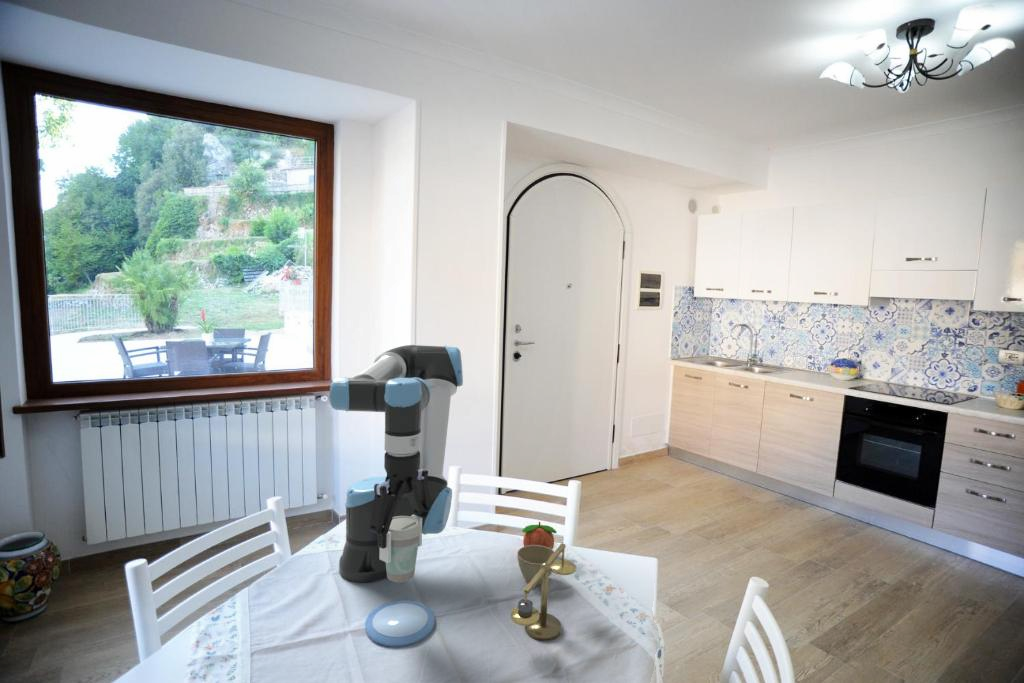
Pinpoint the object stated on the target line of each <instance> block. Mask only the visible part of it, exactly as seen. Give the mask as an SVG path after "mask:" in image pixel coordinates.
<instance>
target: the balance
mask: <svg viewBox="0 0 1024 683" xmlns="http://www.w3.org/2000/svg"><path fill="white" fill-rule="evenodd" d="M566 547H567V546H566V544H565V543H564V542H562V543H560V544H559V545H558V547H557V548H556V549H555V550H554V553H553V554H552V555H551V557H550V558H549V559H548V560H547V562H545V563H543V564H542V565H541V569H540V570H539V571H538V573H537V574H536V575H535V576H534V578H533V579H532V580H531V581H530V583H528V584H527V585H526V586H525V588H524V589H523V593H524V599H520V600H519V601H518V602H517V603H518V605H517V606H515V607H513V608H512V610H511V611H510V619H511V621H512V622H514V623H515V624H516V625H519V626H524V631H525V633H526V634H527V635H528V636H529V637H530V638H532V639H534V640H537V641H540V642H547V641H548V642H549V641H553V640H556V639H557V638H559V636H560V635H561V633H562V623H561V621H560V620H559V619H558V617H556V616H555V615H552V614H549V613H548V596H549V594H548V593H549V577H550V576H549V570H551V571H552V572H551V573H554V574H557V575H560V576H568V575H569V576H570V575H572V574H574V573H575V572H576V567H577V566H576V564H575V563H574V562H573V561H571V560H569V559H565V550H566ZM560 555H561V558H559V557H560ZM541 578H542V585H541V590H540V591H541V592H540V593H541V595H540V612H539V610H537V608H535V607H533V606H534V603H533V601H532V600H530V599H528V595H529V594H530V593H531V592H532V590H533V589H534V588H535V587H536V586H537V585H536V584H537V583H538V581H539V580H540V579H541Z"/></svg>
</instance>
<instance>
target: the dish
mask: <svg viewBox="0 0 1024 683" xmlns="http://www.w3.org/2000/svg"><path fill="white" fill-rule="evenodd" d="M365 619H366V620H365V623H364V624H365V625H364V627H365V628H364V630H365V634H366V636H367V638H369V639H370V640H371V642H374V643H376V644H377V645H380V646H384V647H392V648H394V647H395V648H396V647H397V648H398V647H406V646H409V645H413V644H417V643H419V642H420V641H422V640H424V639H425V638H427V637H428V636H429V635H430V634H431V633H432V632H433V629H434V626H435V615H434V612H433V611H432V608H430V607H429V606H427V605H426V604H424V603H423V602H422V603H421V602H418V601H415V600H395V601H390V602H387V603H384V604H382V605H380V606H378V607H375V609H373V610H372V611H370V613H369V614H368V616H367V617H366V618H365Z"/></svg>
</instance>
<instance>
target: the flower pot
mask: <svg viewBox="0 0 1024 683" xmlns="http://www.w3.org/2000/svg"><path fill="white" fill-rule="evenodd" d="M554 552H555V550H554V549H553V550H552V549H550V548H548V547H545V546H540V545H529V546H525V547H524V546H522V547H521V548H519V549H518V550H517V555H516V556H517V562H518V567H519V570H520V572H521V575H522V576H523V578H524V580H525V582H526V583H528V584H529V583H530V581H531V580H532V579H533V578H534V576H535V575H536V574H537V573H538V571H539V570H540V569H541V565H542V564H543V563H545V562H547V560H548V559H549V558H550V557H551V555H552V554H553V553H554ZM552 573H553V572H552V571H551V570H549V577H550V575H551V574H552ZM535 586H542V578H541V579H540V580H539V581H538V583H537V584H536V585H535Z"/></svg>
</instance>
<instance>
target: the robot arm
mask: <svg viewBox="0 0 1024 683" xmlns="http://www.w3.org/2000/svg"><path fill="white" fill-rule="evenodd" d="M462 362H463V361H462V353H461V350H460V349H459V348H458V347H454V346H447V345H444V346H441V345H440V346H438V345H420V344H418V345H415V344H409V345H407V344H406V345H401V346H398V347H393V348H391V349H387V351H385V352H382V353H381V354H379V355H378V356H376V358H375V359H374V361H373V363H372V364H371V365H370V366H368V367H366V368H365V369H364V370H362V371H361V372H359V373H358V374H356V375H354V376H353V377H347V376H345V377H336V378H334V379H333V381H332V382H331V384H330V387H329V403H330V407H331V408H332V409H333V410H335V411H343V412H344V411H346V412H375V413H384V451H385V452H384V470H385V473H386V476H373V477H367V478H363V479H361V480H358V481H356V482H354V483H352V484H351V485H350V486H349V487H348V489H347V491H346V498H345V504H344V505H345V529H346V531H345V544H344V547H343V550H342V554H341V556H340V558H339V562H338V572H339V574H340V575H341V577H343V578H344V579H346V580H347V581H352V582H356V583H373V582H376V581H380V580H384V579H386V578H387V570H386V562H387V563H390V562H391V532H389V531H388V530H389V527H390V524H391V521H392V518H393V517H396V516H410V517H414V518H416V519H417V520H418V521H419V524H420V526H421V533H420V536H419V543H418V548H420V547H422V546H423V535H424V536H425V535H428V534H429V535H431V534H432V535H433V534H434V535H435V534H438V535H439V534H441V533H442V532H443V531H444V530H445V528H446V525H447V523H448V521H449V520H448V519H449V516H450V512H451V507H452V500H453V499H452V498H453V490H452V488H451V487H449V486H448V480H447V479H446V478H445V477H444V475H443V474H444V465H445V464H444V463H445V455H446V447H447V439H448V438H447V434H448V428H449V417H450V416H449V415H450V407H451V398H452V397H453V395H455V394H456V393H457V391H458V390H457V389H458V387H461V386H463V385H464V384H463V383H464V376H463V374H464V373H463V364H462ZM383 526H384V527H383Z"/></svg>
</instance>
